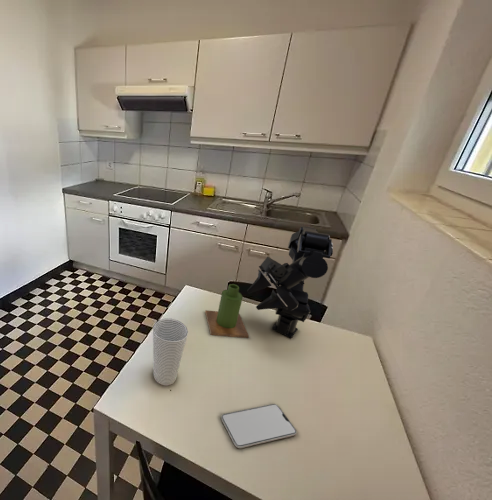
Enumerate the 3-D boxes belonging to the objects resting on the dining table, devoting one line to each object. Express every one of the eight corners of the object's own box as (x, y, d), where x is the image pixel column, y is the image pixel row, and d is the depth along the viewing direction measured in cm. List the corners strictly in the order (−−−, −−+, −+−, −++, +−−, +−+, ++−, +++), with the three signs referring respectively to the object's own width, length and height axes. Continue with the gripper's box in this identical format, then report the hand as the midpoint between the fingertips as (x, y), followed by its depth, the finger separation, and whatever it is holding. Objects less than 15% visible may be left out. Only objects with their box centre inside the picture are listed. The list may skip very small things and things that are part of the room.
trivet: (238, 315, 100) (239, 313, 100) (248, 338, 89) (248, 335, 89) (205, 312, 100) (205, 310, 100) (210, 335, 89) (211, 332, 89)
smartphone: (219, 414, 63) (276, 402, 67) (219, 416, 64) (275, 404, 67) (237, 447, 57) (298, 433, 60) (236, 449, 57) (298, 435, 61)
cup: (142, 372, 74) (145, 325, 68) (166, 359, 79) (171, 314, 73) (163, 396, 68) (168, 346, 62) (187, 380, 73) (195, 332, 66)
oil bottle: (238, 321, 95) (246, 286, 90) (232, 331, 90) (241, 294, 85) (220, 314, 98) (227, 279, 93) (213, 323, 93) (220, 287, 88)
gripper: (272, 239, 87) (230, 268, 92) (298, 265, 70) (245, 298, 75) (291, 264, 90) (249, 290, 95) (320, 295, 73) (268, 325, 78)
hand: (252, 299), depth 85 cm, fingers open, 9 cm apart
